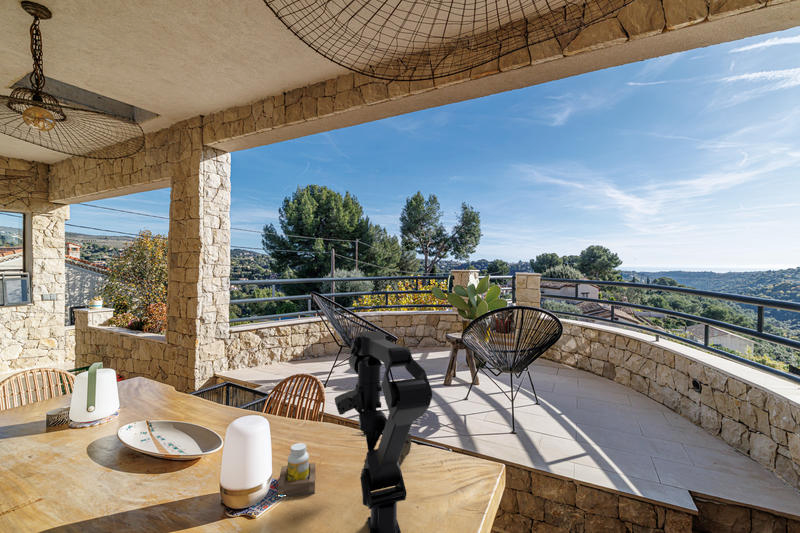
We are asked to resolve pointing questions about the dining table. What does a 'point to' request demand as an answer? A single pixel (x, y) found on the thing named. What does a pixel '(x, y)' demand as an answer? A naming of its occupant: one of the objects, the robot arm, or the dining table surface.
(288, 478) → the supplement bottle
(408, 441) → the hand tool
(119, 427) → the dining table surface
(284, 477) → the socket block
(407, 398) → the robot arm
